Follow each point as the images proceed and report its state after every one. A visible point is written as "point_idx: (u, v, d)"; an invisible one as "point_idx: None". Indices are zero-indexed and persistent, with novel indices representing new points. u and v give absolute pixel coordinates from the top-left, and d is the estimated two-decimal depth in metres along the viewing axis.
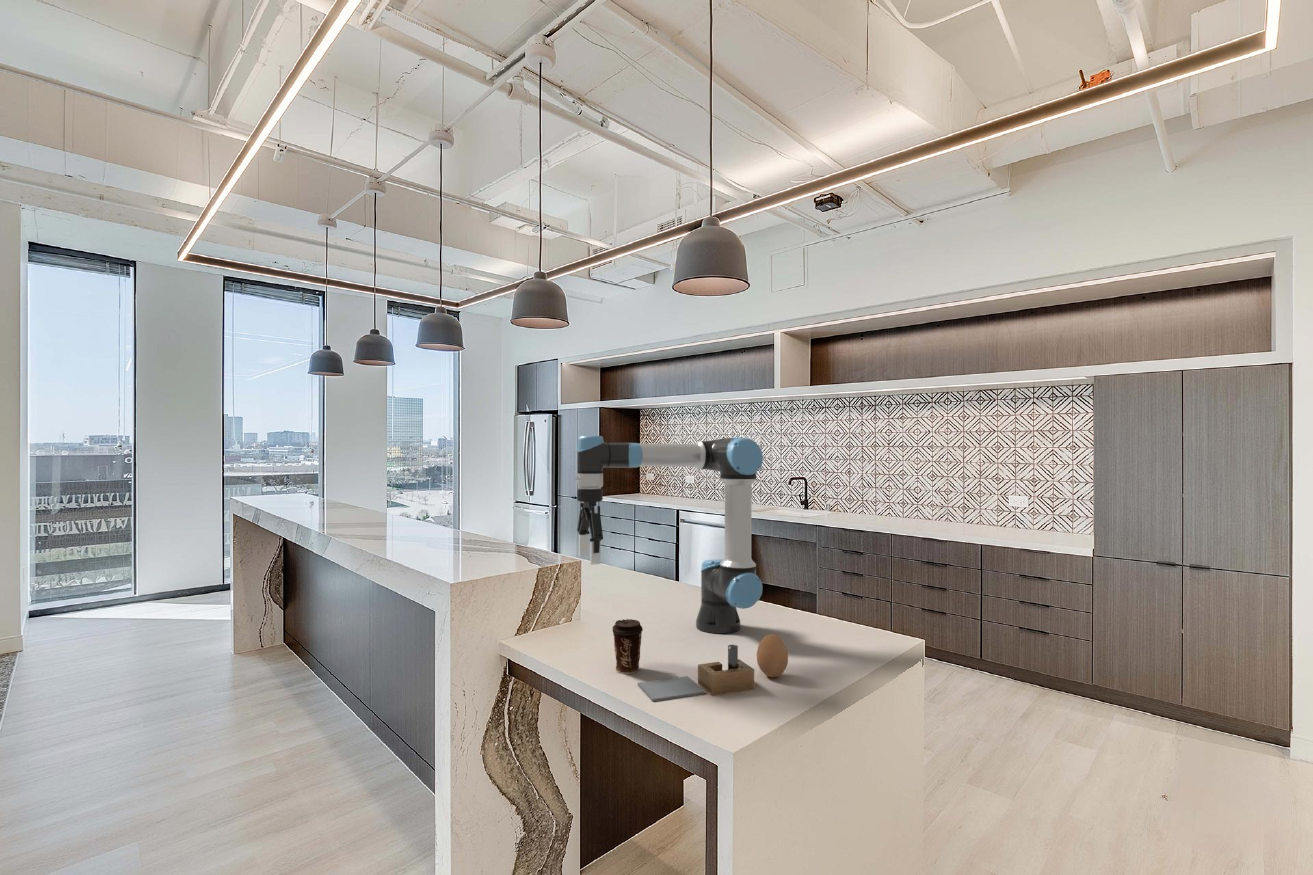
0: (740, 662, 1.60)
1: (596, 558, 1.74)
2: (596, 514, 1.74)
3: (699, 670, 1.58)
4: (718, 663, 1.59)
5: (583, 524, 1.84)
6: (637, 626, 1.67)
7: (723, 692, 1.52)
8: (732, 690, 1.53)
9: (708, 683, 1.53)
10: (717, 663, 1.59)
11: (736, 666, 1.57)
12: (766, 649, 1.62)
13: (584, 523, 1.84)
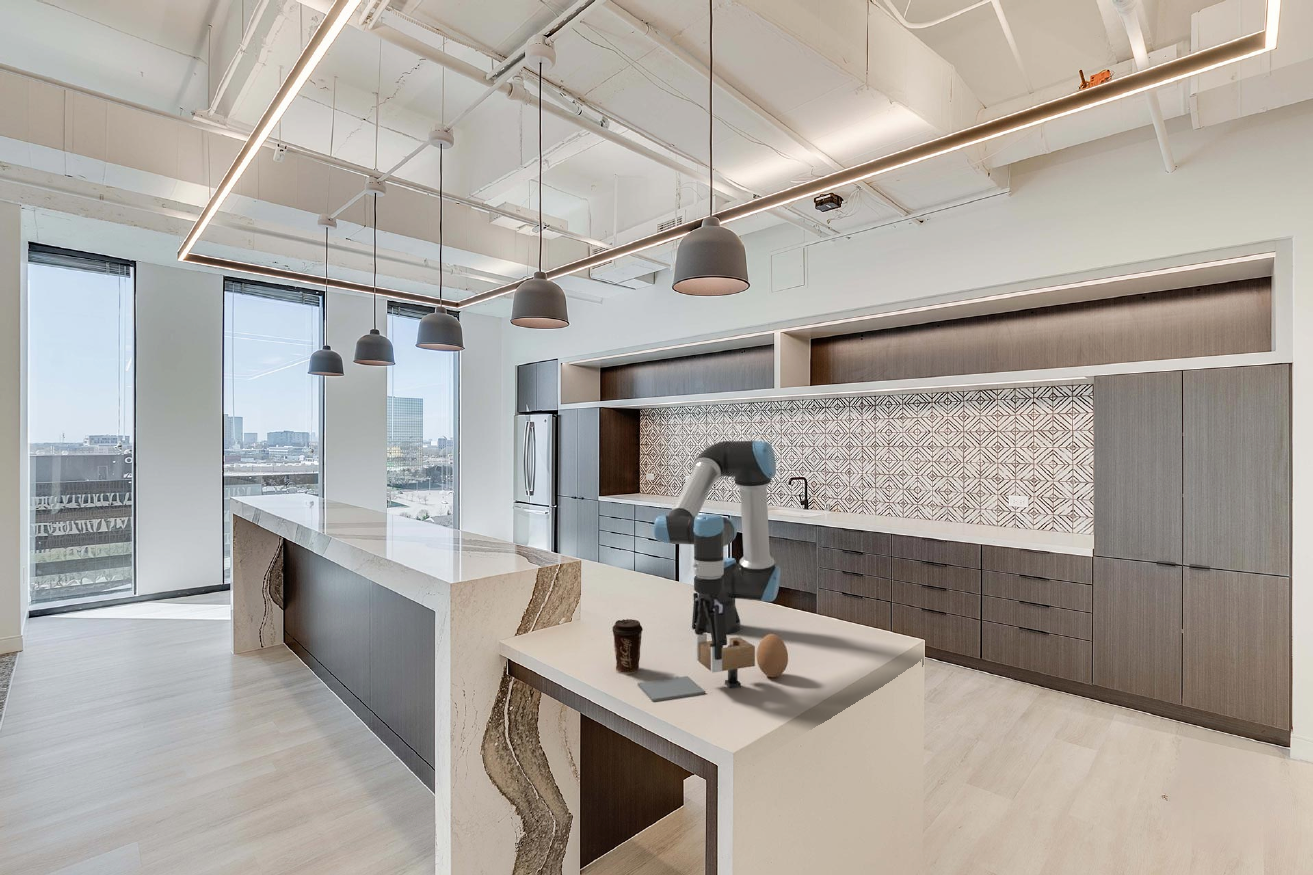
0: (741, 640, 1.61)
1: (718, 665, 1.51)
2: (720, 614, 1.50)
3: (700, 648, 1.58)
4: None
5: (701, 620, 1.58)
6: (637, 626, 1.67)
7: (724, 669, 1.53)
8: (733, 667, 1.54)
9: (709, 661, 1.53)
10: None
11: None
12: (766, 649, 1.62)
13: (702, 618, 1.58)
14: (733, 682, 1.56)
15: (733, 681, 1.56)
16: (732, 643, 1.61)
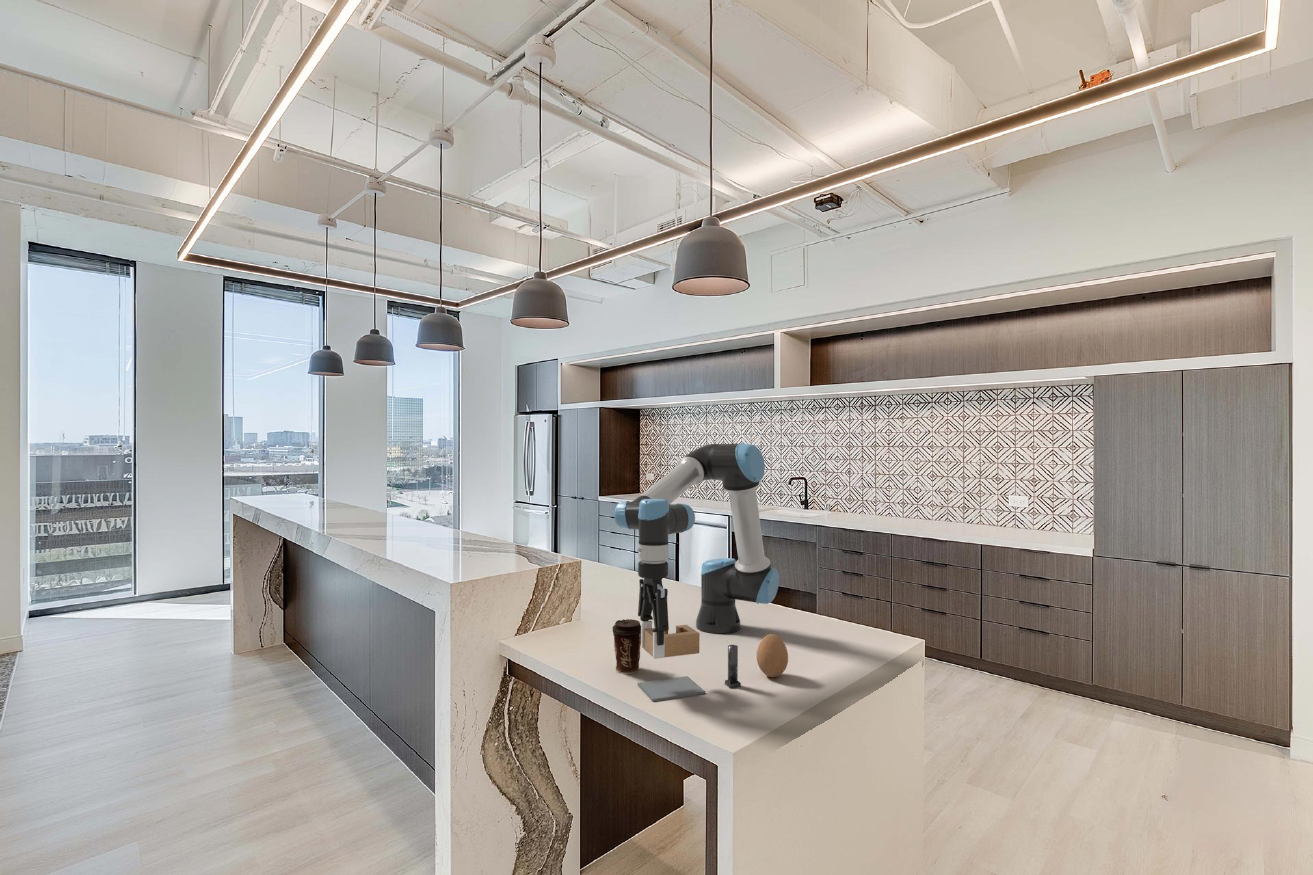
0: (687, 627, 1.58)
1: (660, 651, 1.49)
2: (662, 599, 1.47)
3: (644, 634, 1.56)
4: None
5: (645, 606, 1.56)
6: (637, 626, 1.67)
7: (667, 655, 1.50)
8: (676, 654, 1.51)
9: (652, 647, 1.51)
10: None
11: (736, 666, 1.57)
12: (766, 649, 1.62)
13: (647, 604, 1.56)
14: (733, 682, 1.56)
15: (733, 681, 1.56)
16: (678, 630, 1.58)
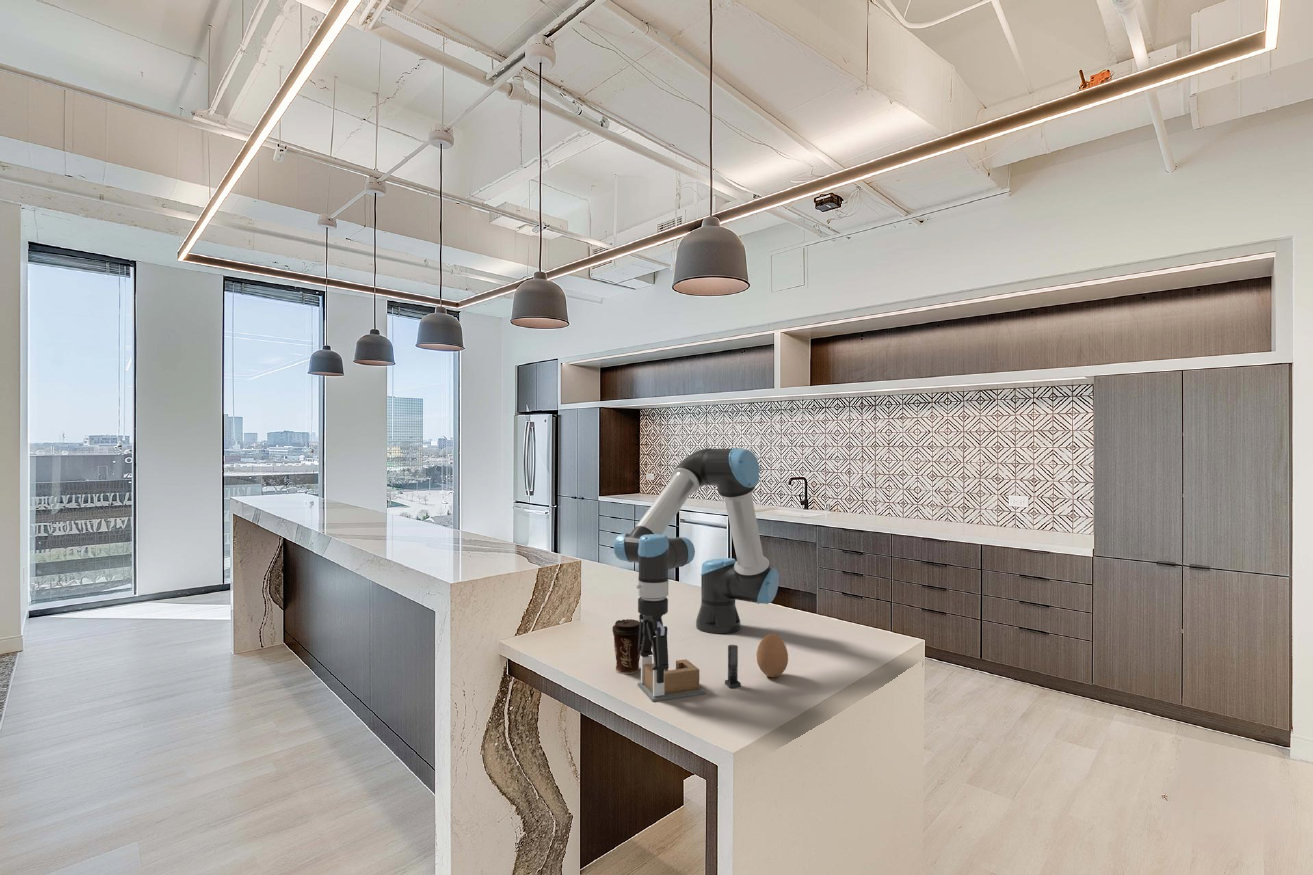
0: (687, 662, 1.58)
1: (660, 688, 1.49)
2: (662, 637, 1.47)
3: (644, 670, 1.56)
4: None
5: (645, 642, 1.56)
6: (637, 626, 1.67)
7: (667, 693, 1.50)
8: (676, 691, 1.51)
9: (651, 684, 1.51)
10: None
11: (736, 666, 1.57)
12: (766, 649, 1.62)
13: (646, 640, 1.56)
14: (733, 682, 1.56)
15: (733, 681, 1.56)
16: (678, 665, 1.58)
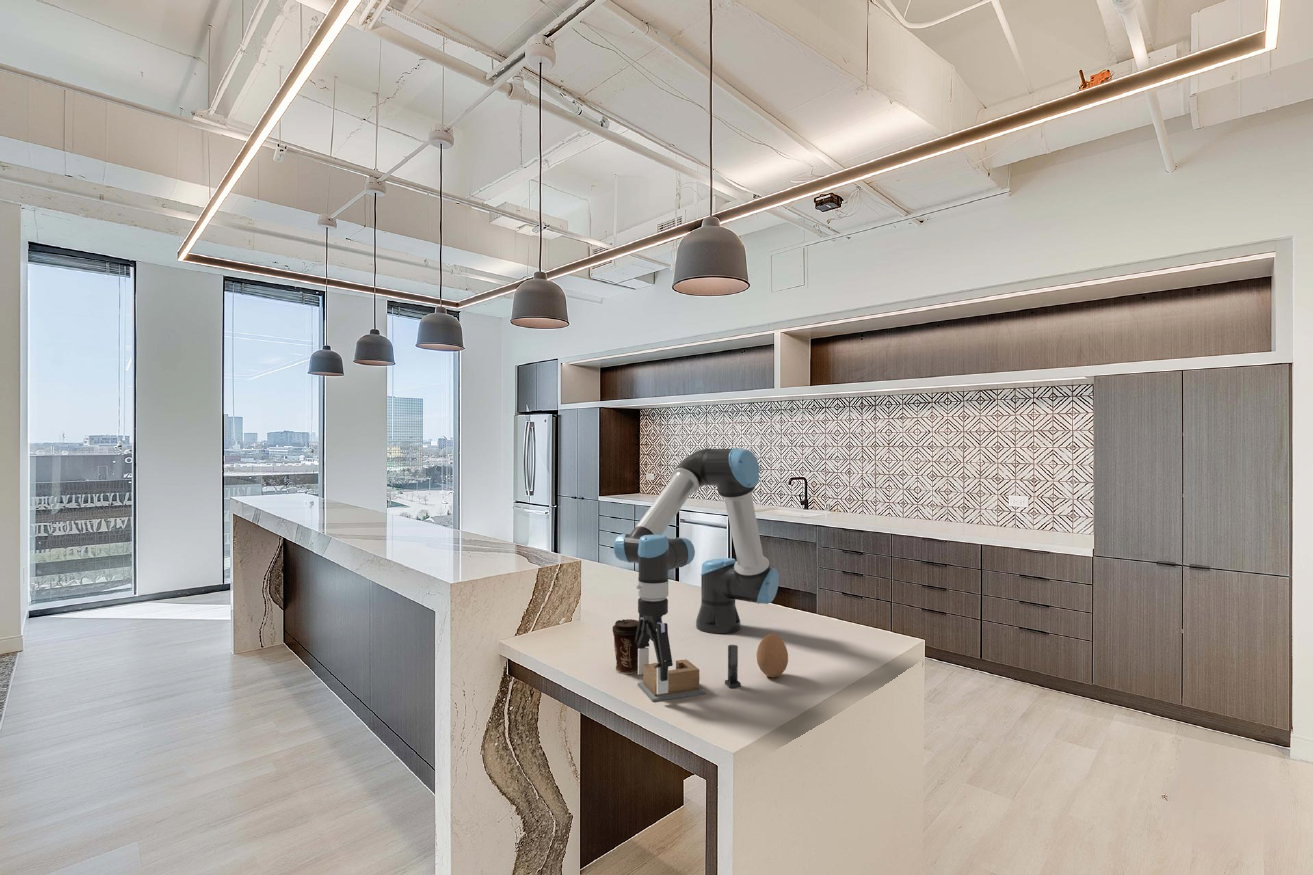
0: (687, 662, 1.58)
1: (664, 686, 1.46)
2: (663, 634, 1.47)
3: (644, 670, 1.56)
4: None
5: (643, 637, 1.57)
6: None
7: (667, 693, 1.50)
8: (676, 691, 1.51)
9: (651, 684, 1.51)
10: None
11: (736, 666, 1.57)
12: (766, 649, 1.62)
13: (645, 636, 1.57)
14: (733, 682, 1.56)
15: (733, 681, 1.56)
16: (678, 665, 1.58)
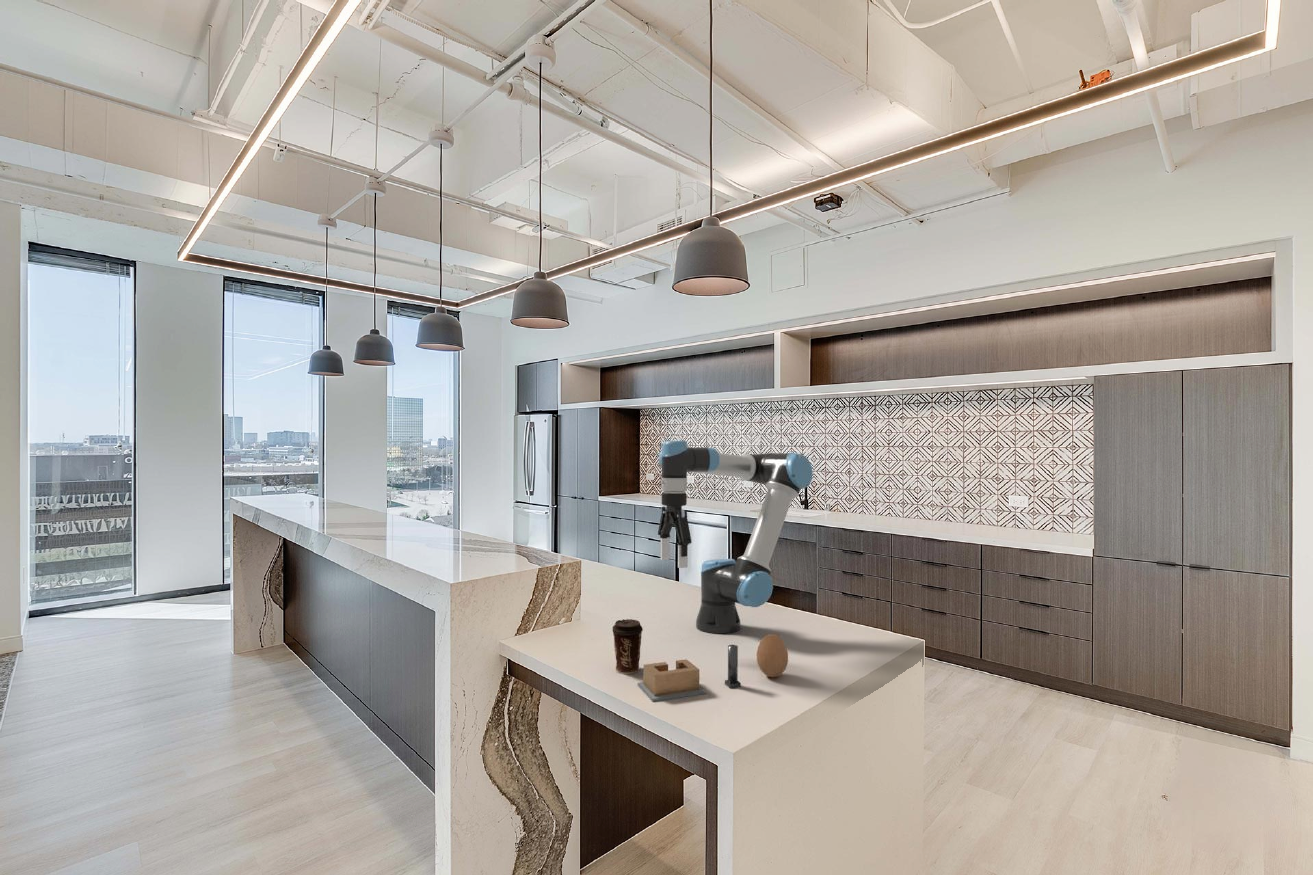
0: (687, 662, 1.58)
1: (684, 561, 1.76)
2: (683, 518, 1.76)
3: (644, 670, 1.56)
4: (664, 663, 1.57)
5: (666, 528, 1.87)
6: (637, 626, 1.67)
7: (667, 693, 1.50)
8: (676, 691, 1.51)
9: (651, 684, 1.51)
10: (663, 663, 1.57)
11: (736, 666, 1.57)
12: (766, 649, 1.62)
13: (667, 527, 1.87)
14: (733, 682, 1.56)
15: (733, 681, 1.56)
16: (678, 665, 1.58)
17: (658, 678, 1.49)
